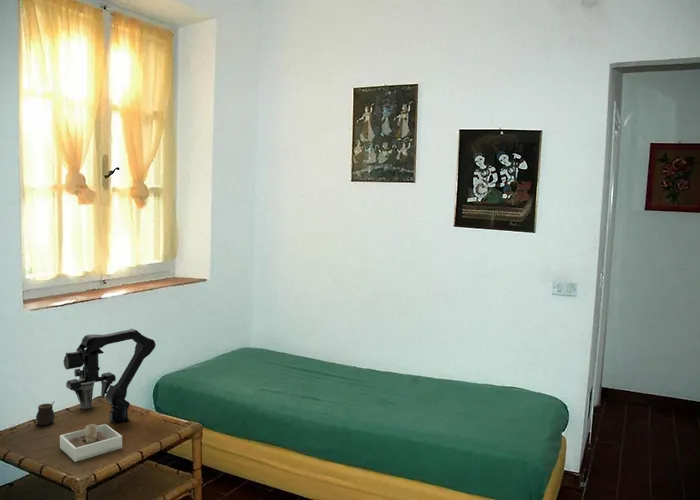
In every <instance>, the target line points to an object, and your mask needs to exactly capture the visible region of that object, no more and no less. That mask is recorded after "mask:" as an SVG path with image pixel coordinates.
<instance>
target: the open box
mask: <svg viewBox="0 0 700 500" xmlns="http://www.w3.org/2000/svg"><path fill="white" fill-rule="evenodd" d="M98 432H101V433H102V434H104V435H105V436H106V437H108V438H109V439H106V440H103V441H99V442H95V443H92V444H88V445H84V446H81V447H77V448H76V447H75V446H74V445H73V444H71V443H70V440H71V439H75V438H79V437H83V436H86V431H85V428H84V429H79V430H75V431H72V432H68V433H64V434H61V435H59V448H60V449H61V451H63V452H64V453H65V454H66V455H67V456H68V457H69V458H70V459H71V460H72V461H74V462H79V461H83V460H86V459H90V458H92V457H96V456H99V455H103V454H107V453H111V452H114V451H117V450H120V449H123V435H122V434H120V433H119V432H117V431H116V430H115V429H113V428H112V427H111V426H109V425H108V424H106V423H104V424H100V425H99V424H98V425H97V433H98Z"/></svg>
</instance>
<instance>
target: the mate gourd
mask: <svg viewBox="0 0 700 500" xmlns="http://www.w3.org/2000/svg"><path fill="white" fill-rule="evenodd" d="M54 403H55V401H53V402H52V403H47V402H45V403H41V404H40V405H38V407H37V409H38V410H37V413H36V416H35V420H36V422H37V423H38V424H39V425H40V426H46V425H50V424H51V423H53V422H54V420H55V416H56V414H55V411H54V409H53V408H54V407H53V406H54Z"/></svg>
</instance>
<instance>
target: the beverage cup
mask: <svg viewBox="0 0 700 500" xmlns="http://www.w3.org/2000/svg"><path fill="white" fill-rule="evenodd" d="M83 367H84V365H83V366H82V368H83ZM78 380H79V381H81V380H84V379H82V378H79V377H78ZM94 387H95V382H94V383H89V384H85V385H81V387H80V388H81V389H82V403H80V402H79V404H80V408H81V409H84V410H86V409H90V408H92V405H93V397H94V396H93V395H94Z"/></svg>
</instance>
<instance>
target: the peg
mask: <svg viewBox="0 0 700 500" xmlns="http://www.w3.org/2000/svg"><path fill="white" fill-rule="evenodd" d="M97 426H98V425H97V424H96V423H91V424H90V423H89V424H86V425H84V427H85V428H84V429H85V431H86V444H91V443H95V442H97Z"/></svg>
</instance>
